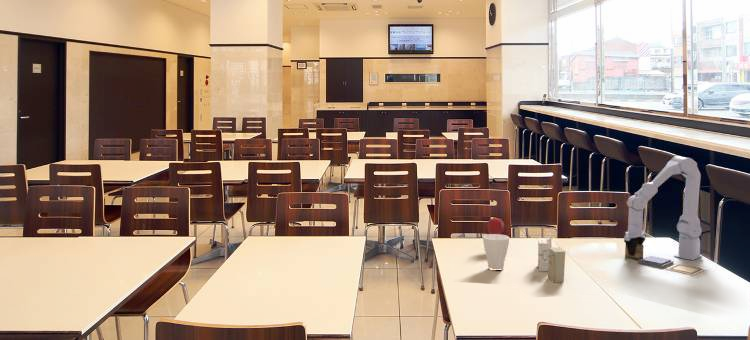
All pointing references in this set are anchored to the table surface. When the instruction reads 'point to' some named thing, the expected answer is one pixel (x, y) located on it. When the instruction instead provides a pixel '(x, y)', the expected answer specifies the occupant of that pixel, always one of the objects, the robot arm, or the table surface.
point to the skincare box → (556, 264)
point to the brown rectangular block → (638, 252)
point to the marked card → (685, 269)
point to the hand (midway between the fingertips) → (634, 254)
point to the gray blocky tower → (543, 253)
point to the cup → (496, 249)
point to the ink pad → (656, 262)
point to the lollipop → (495, 226)
